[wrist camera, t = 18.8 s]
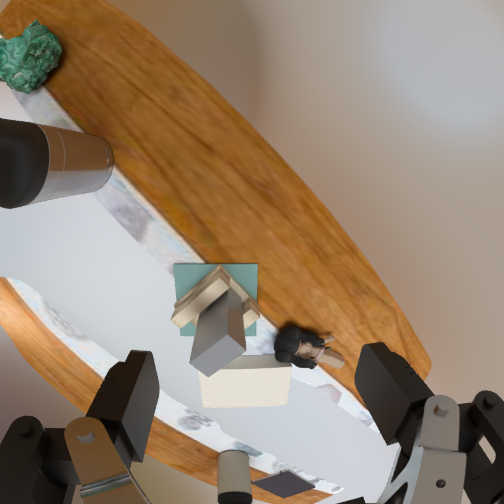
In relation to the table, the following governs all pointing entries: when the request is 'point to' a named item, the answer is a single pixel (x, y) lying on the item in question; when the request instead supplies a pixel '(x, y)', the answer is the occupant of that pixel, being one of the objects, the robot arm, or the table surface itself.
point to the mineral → (29, 57)
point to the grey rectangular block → (219, 334)
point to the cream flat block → (247, 383)
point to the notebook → (283, 483)
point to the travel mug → (234, 478)
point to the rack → (213, 298)
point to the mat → (194, 273)
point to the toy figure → (305, 349)
